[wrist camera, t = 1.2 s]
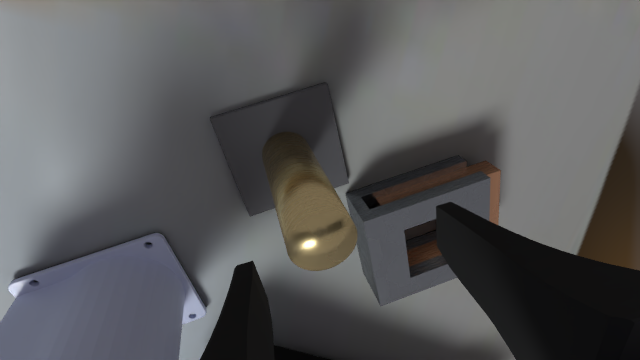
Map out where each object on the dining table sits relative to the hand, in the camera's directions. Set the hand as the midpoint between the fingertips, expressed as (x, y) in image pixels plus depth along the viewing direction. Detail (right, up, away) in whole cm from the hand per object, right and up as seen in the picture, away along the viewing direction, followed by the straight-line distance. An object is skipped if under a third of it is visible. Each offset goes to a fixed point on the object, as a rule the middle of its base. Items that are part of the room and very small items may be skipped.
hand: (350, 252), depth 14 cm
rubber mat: (-3, +5, +9) cm, 11 cm away
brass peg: (-3, +4, +9) cm, 10 cm away
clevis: (+6, 0, +14) cm, 16 cm away
